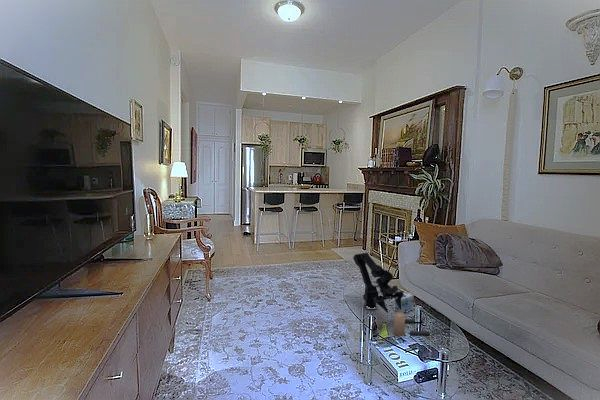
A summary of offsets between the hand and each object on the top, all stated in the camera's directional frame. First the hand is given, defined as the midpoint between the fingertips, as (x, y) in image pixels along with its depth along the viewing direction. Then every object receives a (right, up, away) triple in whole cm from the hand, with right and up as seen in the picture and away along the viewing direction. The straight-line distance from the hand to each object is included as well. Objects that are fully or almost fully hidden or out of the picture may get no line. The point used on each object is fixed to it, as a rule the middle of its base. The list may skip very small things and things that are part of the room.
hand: (394, 311), depth 197 cm
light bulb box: (+13, -7, +23) cm, 27 cm away
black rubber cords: (+13, -11, +1) cm, 17 cm away
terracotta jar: (+2, -12, -3) cm, 13 cm away
